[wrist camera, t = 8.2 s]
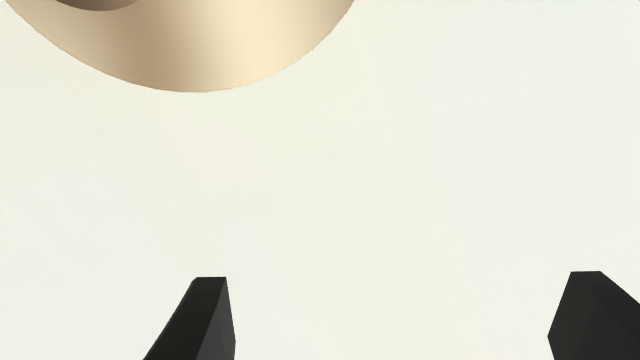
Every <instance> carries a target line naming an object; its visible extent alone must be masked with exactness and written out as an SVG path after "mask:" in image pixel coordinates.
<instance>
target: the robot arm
mask: <svg viewBox="0 0 640 360" xmlns="http://www.w3.org/2000/svg"><path fill="white" fill-rule="evenodd" d="M547 337H548V340H549V343H550V347H551V350H552V353H553V357H554V360H640V304H639V303H638V302H637V301H636V300H635V299H634V298H632V297H631V296H630V295H629V294H628V293H626V292H625V291H624V290H623V289H622V288H620V287H619V286H618V285H617V284H616V283H614V282H613V281H612V280H611V279H610V278H608V277H607V276H606V275H604V274H603V273H602V272H601V271H580V272H571V274H570V276H569V279H568V282H567V284H566V287H565V290H564V293H563V295H562V298H561V301H560V303H559V306H558V309H557V312H556V314H555V317H554V320H553V322H552V325H551V328H550V331H549V333H548V336H547ZM235 343H236V341H235V334H234V327H233V320H232V314H231V307H230V300H229V293H228V287H227V280H226V277H197V278H195V279H194V280H193V281H192V282H191V284H190V286H189V288H188V290H187V291H186V293H185V295H184V297H183V298H182V300H181V302H180V304H179V305H178V307H177V309H176V310H175V312H174V313H173V315H172V317H171V318H170V320H169V321H168V323H167V325H166V326H165V328H164V329H163V331H162V332H161V334H160V335H159V337H158V338H157V340H156V341H155V343H154V344H153V346H152V347H151V349H150V350H149V352H148V353H147V355H146V356H145V358H144V359H143V360H234V354H235Z"/></svg>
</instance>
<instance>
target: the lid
mask: <svg viewBox="0 0 640 360" xmlns="http://www.w3.org/2000/svg"><path fill="white" fill-rule="evenodd" d="M5 1H6V2H7V3H8V4H9V5H10V6H11V8H12V9H13V10H14V11H15V12H16V13H17V14H19V15H20V16H21V17H22V18H23V19H24V20H25V21H26V22H27V23H28V24H29V25H31V26H32V27H33V28H34V29H35V30H36V31H37V32H39V33H40V34H41V35H43V36H44V37H45V38H46V39H48V40H49V41H50V42H52V43H53V44H54V45H56V46H57V47H58V48H60V49H61V50H63V51H65V52H66V53H68V54H70V55H71V56H73V57H74V58H76V59H78V60H79V61H81V62H83V63H85V64H87V65H89V66H91V67H93V68H95V69H97V70H99V71H101V72H103V73H105V74H107V75H110V76H113V77H116V78H118V79H121V80H124V81H127V82H130V83H133V84H137V85H141V86H145V87H149V88H153V89H159V90H167V91H175V92H211V91H220V90H228V89H232V88H236V87H240V86H244V85H248V84H252V83H254V82H257V81H259V80H262V79H264V78H267V77H270V76H272V75H274V74H276V73H278V72H279V71H281V70H283V69H285V68H287V67H289V66H290V65H292V64H294V63H295V62H297V61H298V60H299V59H301V58H302V57H303V56H305V55H306V54H307V53H309V52H310V51H311V50H313V49H314V48H315V47H316V46H317V45H318V44H319V43H320V42H321V41H322V40H323V39H324V38H325V37H326V36H327V35H328V34H329V33H330V32H331V31H332V30H333V29H334V28H335V26H336V25H337V24H338V23H339V21H340V20H341V19H342V18H343V16H344V15H345V14H346V13H347V11H348V10H349V8H350V6H351V5H352V3H353V1H354V0H5Z"/></svg>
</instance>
